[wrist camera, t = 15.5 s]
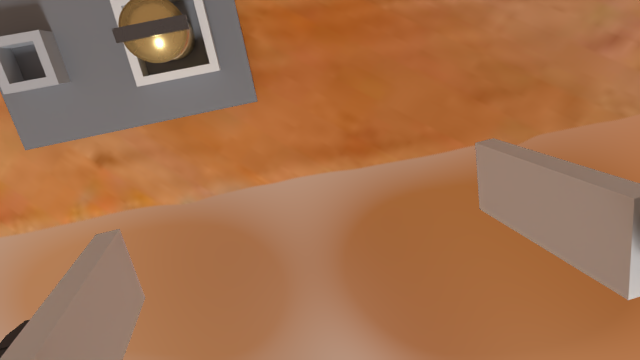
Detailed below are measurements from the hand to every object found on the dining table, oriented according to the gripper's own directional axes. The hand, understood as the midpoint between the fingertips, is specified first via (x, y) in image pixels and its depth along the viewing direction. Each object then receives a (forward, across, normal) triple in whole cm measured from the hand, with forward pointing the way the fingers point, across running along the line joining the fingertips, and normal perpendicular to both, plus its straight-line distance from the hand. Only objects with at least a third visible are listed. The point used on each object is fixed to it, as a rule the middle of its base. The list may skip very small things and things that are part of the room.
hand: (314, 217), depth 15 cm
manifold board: (+35, -12, +9) cm, 38 cm away
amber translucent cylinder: (+33, -7, +9) cm, 35 cm away
